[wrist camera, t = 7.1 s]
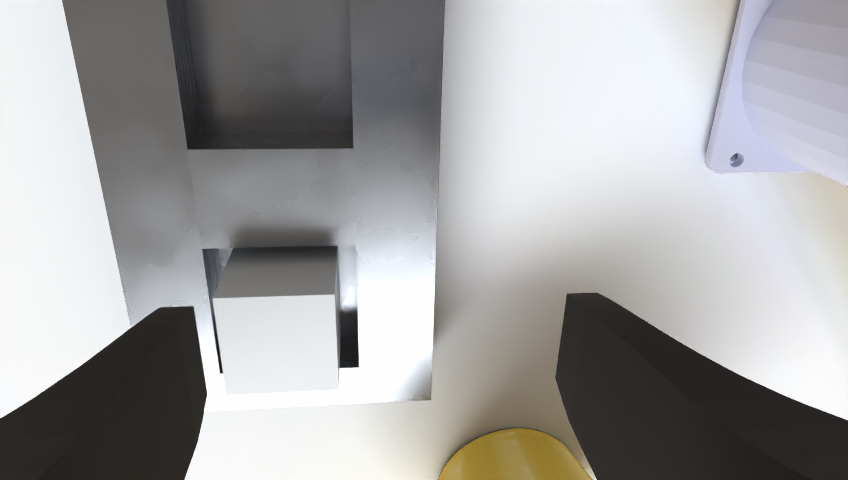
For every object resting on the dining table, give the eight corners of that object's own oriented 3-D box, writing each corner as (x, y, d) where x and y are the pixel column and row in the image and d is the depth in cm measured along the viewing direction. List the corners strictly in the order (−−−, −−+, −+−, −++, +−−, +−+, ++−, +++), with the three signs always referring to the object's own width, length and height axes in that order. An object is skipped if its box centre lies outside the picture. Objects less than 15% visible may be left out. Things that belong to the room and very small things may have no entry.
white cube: (337, 237, 22) (334, 294, 18) (341, 321, 23) (339, 389, 20) (236, 240, 21) (212, 298, 18) (246, 325, 23) (226, 395, 19)
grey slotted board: (446, -461, 15) (463, -535, 13) (423, 359, 25) (430, 399, 23) (5, -504, 14) (-63, -593, 11) (168, 370, 24) (149, 413, 22)
